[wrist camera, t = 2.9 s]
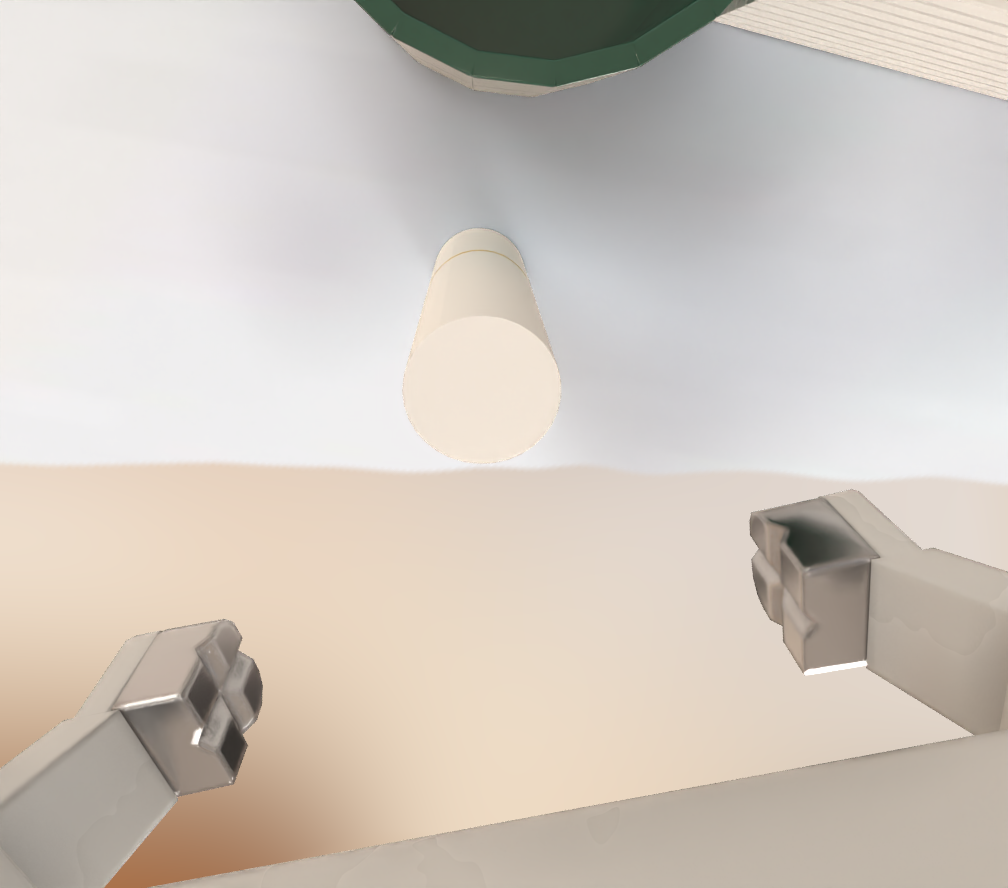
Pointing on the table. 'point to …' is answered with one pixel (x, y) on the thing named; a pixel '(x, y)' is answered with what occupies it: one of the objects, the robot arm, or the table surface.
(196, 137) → the table surface
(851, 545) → the robot arm
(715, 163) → the table surface
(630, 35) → the pot
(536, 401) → the tube
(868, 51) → the cream long block
